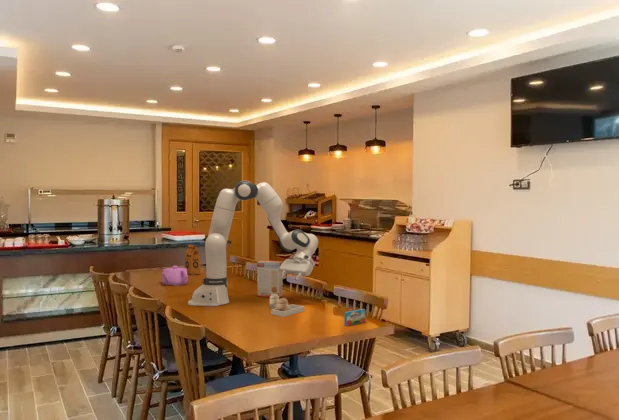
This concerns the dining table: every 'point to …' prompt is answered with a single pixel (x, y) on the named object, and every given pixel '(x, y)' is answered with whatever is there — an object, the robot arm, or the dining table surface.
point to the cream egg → (274, 301)
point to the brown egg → (283, 305)
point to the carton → (291, 310)
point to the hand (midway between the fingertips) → (289, 279)
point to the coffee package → (192, 260)
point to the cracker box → (269, 278)
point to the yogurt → (354, 317)
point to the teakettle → (175, 276)
